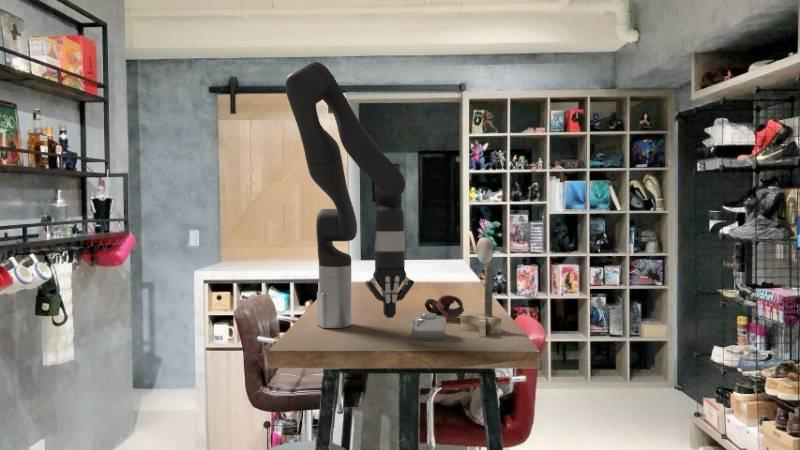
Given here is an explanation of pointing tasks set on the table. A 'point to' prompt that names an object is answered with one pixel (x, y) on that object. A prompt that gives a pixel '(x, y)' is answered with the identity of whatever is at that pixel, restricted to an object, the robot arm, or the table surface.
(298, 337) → the table surface
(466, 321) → the wooden display stand
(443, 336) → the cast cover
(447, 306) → the pottery mug
